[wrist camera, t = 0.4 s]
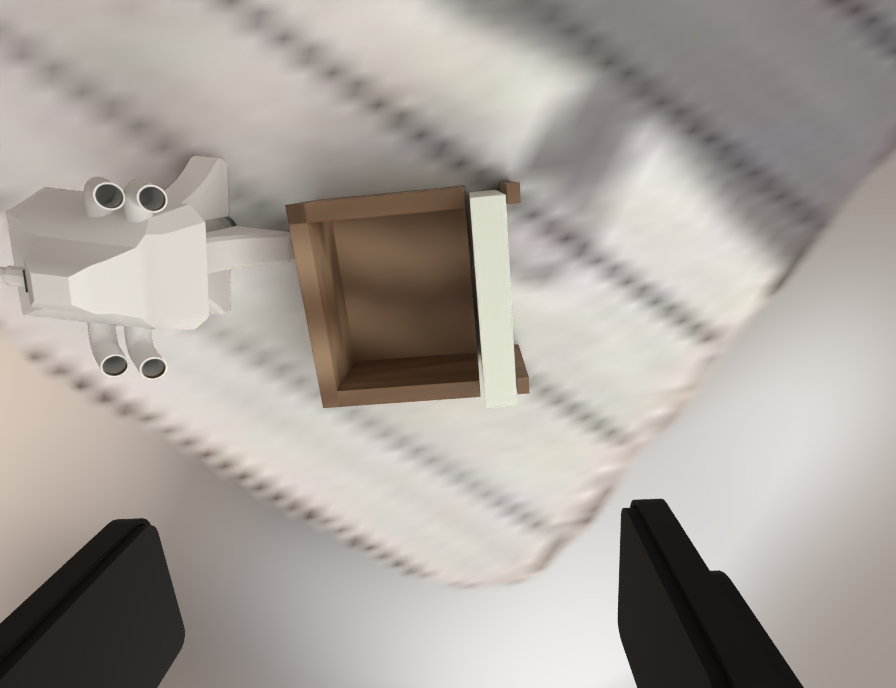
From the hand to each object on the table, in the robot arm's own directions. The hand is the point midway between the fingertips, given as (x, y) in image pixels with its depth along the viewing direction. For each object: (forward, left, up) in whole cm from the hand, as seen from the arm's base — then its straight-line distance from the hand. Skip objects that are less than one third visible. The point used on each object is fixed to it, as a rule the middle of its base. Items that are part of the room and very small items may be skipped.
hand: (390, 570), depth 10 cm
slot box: (0, -2, -31) cm, 31 cm away
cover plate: (0, +3, -32) cm, 32 cm away
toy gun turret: (-5, -18, -32) cm, 37 cm away
